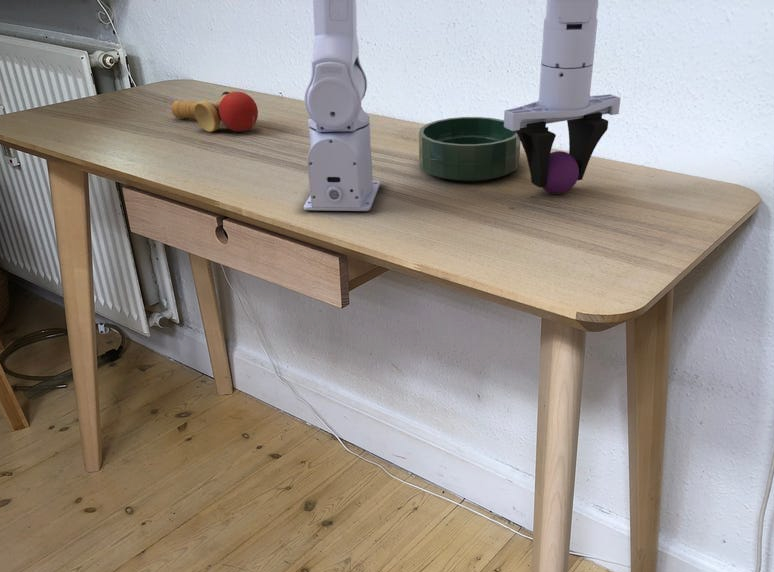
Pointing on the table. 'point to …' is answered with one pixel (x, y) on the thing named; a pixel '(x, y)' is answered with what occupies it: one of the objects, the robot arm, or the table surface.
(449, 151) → the bowl
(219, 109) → the kendama
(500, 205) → the table surface
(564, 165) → the ball
